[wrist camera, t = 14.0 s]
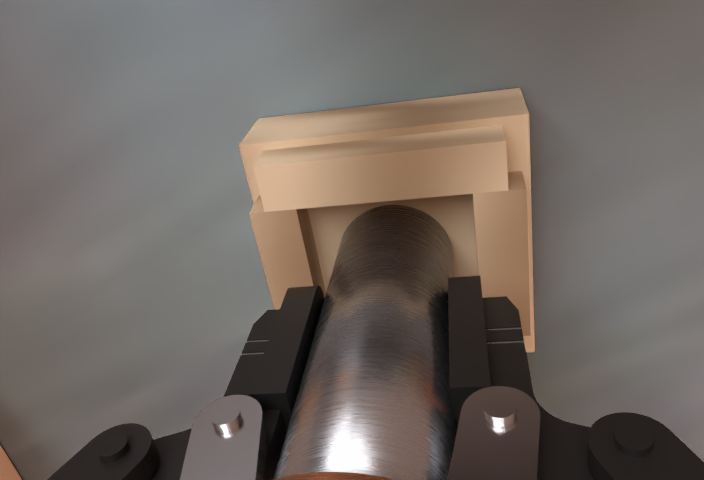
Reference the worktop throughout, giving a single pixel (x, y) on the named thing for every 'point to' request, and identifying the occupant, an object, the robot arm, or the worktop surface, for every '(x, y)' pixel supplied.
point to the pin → (378, 358)
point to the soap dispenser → (7, 468)
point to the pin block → (397, 186)
